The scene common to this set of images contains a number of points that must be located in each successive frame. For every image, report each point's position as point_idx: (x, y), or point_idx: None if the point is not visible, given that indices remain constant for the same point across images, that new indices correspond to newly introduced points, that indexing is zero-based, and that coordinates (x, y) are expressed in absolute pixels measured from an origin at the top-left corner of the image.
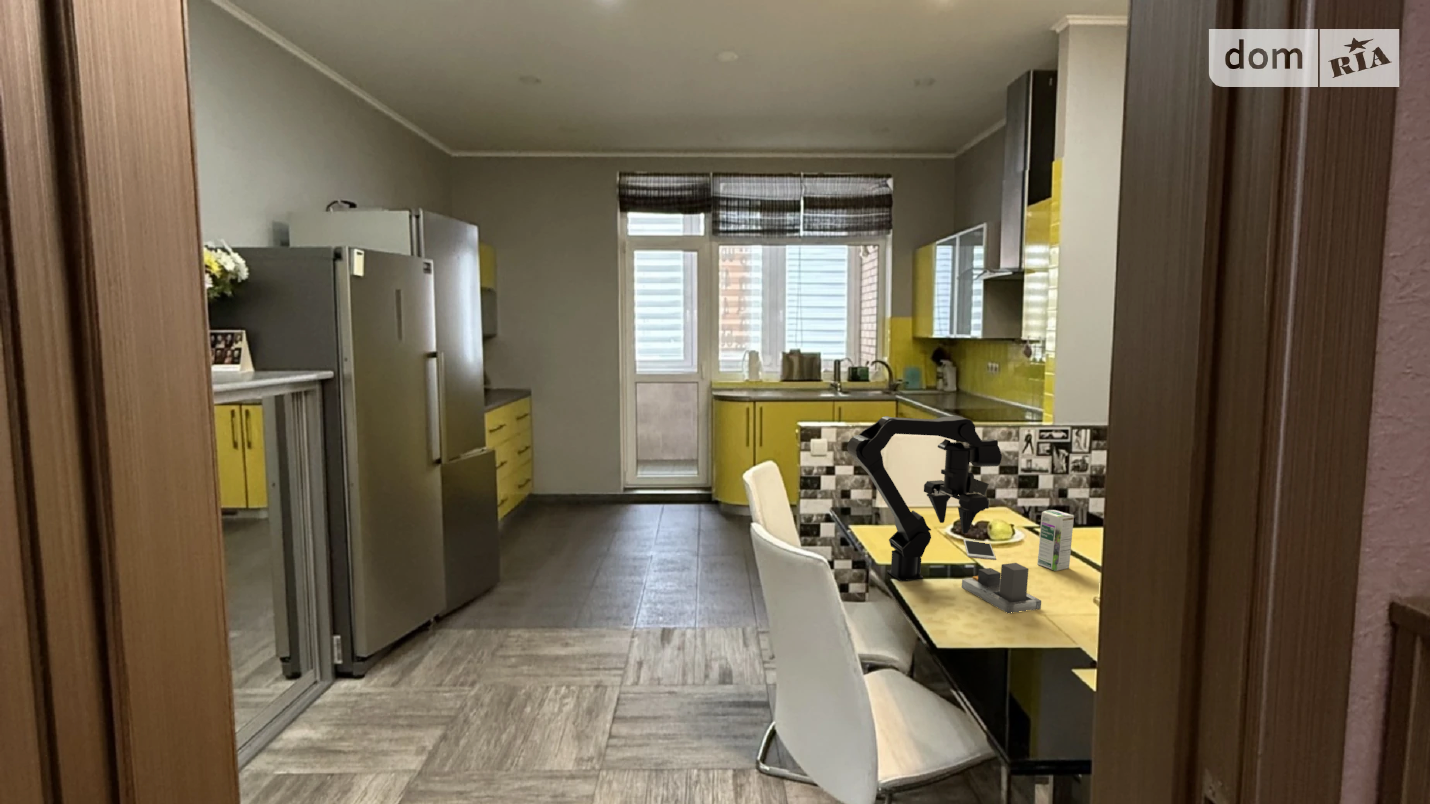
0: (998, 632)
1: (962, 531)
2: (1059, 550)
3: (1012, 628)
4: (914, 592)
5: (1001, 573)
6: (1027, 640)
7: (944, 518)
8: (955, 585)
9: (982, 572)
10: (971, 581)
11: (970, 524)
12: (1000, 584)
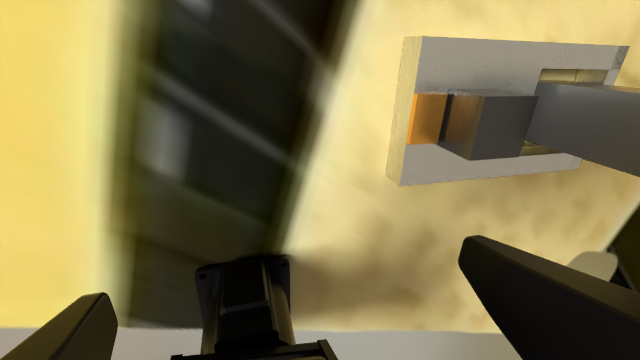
0: (576, 232)
1: (470, 279)
2: None
3: (587, 197)
4: (363, 305)
5: (606, 165)
6: (622, 201)
7: (83, 334)
8: (365, 184)
9: (486, 158)
10: (426, 167)
11: (588, 284)
12: (560, 150)
